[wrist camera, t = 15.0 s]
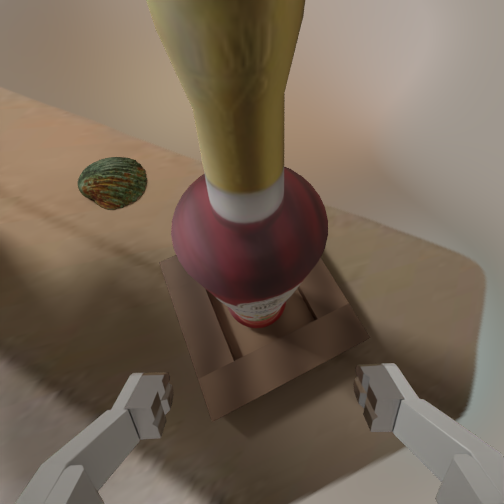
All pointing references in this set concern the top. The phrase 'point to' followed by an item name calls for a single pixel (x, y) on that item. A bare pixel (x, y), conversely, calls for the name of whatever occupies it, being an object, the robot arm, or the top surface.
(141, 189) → the seashell
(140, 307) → the top surface
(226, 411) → the plinth
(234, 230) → the liquor
